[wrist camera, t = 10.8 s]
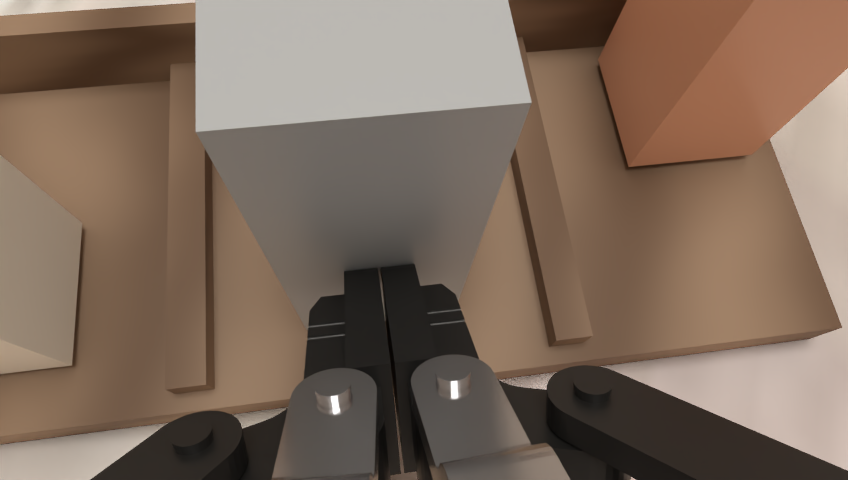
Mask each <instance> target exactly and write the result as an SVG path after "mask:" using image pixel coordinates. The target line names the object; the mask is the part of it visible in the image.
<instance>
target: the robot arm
mask: <svg viewBox="0 0 848 480" xmlns="http://www.w3.org/2000/svg"><path fill="white" fill-rule="evenodd" d="M381 277H382V288H383V298H384V309H385V318H384V310H383V303H382V295H381V287H380V280H379V272H378V268H371V269H362V270H352V271H344V294H342V295H333V296H324V297H320V299H319V300H318V301H317V302H316V303H315V305H314V306H313V307H312V308H311V310H310V312H309V323H308V326H309V328H308V335H307V339H308V340H307V347H306V358H305V370H304V380H303V381H302V382H300V383H299V384H298V385H297V386H296V387H295V389H294V390H293V392H292V394H291V397H290V402H289V406H288V409H286V410H285V411H283V412H282V413H280V414H279V415H277V416H275V417H273V418H271V419H268V420H266V421H263V422H260V423H258V424H255V425H252V426H249V427H246V428H243V429H242V427H241V424H240V422H239V420H238V419H237V418H235V417H234V416H233V415H231V414H229V413H226V412H222V411H201V412H196V413H192V414H188V415H185V416H183V417H180V418H178V419H176V420H174V421H172V422H170V423H168V424H167V425H165V426H164V427H162V428H161V429H160V430H158V431H157V432H155V433H154V434H153V435H151V436H150V437H149V438H147V439H146V440H144V441H143V442H142V443H140V444H139V445H138V446H136V447H135V448H133V449H132V450H131V451H129V452H128V453H126V454H125V455H124V456H122V457H121V458H120V459H118V460H117V461H115V462H114V463H113V464H111V465H110V466H109V467H107V468H106V469H104V470H103V471H102V472H100V473H99V474H98V475H96V476H95V477H93V478H92V479H91V480H390V475H395V474H401V471H400V460H399V449H398V438H397V427H396V417H395V406H394V397H395V404H396V412H397V419H398V427H399V435H400V442H401V450H402V457H403V465H404V473H408V472H415V471H417V477H418V480H631V477H633V478H635V479H636V480H848V471H847V470H844V469H842V468H840V467H837V466H835V465H833V464H830V463H828V462H826V461H823V460H821V459H819V458H816V457H814V456H812V455H809V454H807V453H805V452H802V451H800V450H798V449H795V448H793V447H791V446H788V445H786V444H784V443H781V442H779V441H777V440H774V439H772V438H769V437H767V436H765V435H762V434H760V433H758V432H755V431H753V430H751V429H748V428H746V427H744V426H741V425H739V424H737V423H734V422H732V421H730V420H727V419H725V418H723V417H720V416H718V415H716V414H713V413H711V412H709V411H706V410H704V409H702V408H699V407H697V406H695V405H692V404H690V403H688V402H685V401H683V400H681V399H678V398H676V397H674V396H671V395H669V394H666V393H664V392H662V391H659V390H657V389H655V388H652V387H650V386H648V385H645V384H643V383H641V382H638V381H636V380H634V379H631V378H629V377H627V376H624V375H622V374H620V373H617V372H615V371H612V370H610V369H607V368H603V367H598V366H588V365H582V366H573V367H569V368H565V369H563V370H560V371H559V372H557V373H556V374H554V375H553V376H552V377H551V378H550V380H549V382H548V385H547V390H542V389H532V388H523V387H516V386H512V385H509V384H506V383H503V382H501V381H499V380H498V379H497V377H496V375H495V374H494V372H493V370H492V369H491V367H489V366H488V365H487V364H486V363H485V362H483V361H481V360H479V357H478V354H477V352H476V349H475V346H474V343H473V341H472V338H471V335H470V332H469V330H468V327H467V324H466V322H465V319H464V316H463V313H462V311H461V308H460V305H459V302H458V299H457V297H456V294H455V293H453V292H452V291H451V290H449V289H448V288H447V287H445V286H444V285H443V284H433V285H424V286H420V283H419V279H418V275H417V271H416V267H415V264H408V265H399V266H389V267H381ZM385 320H386V325H385ZM386 330H387V333H386ZM392 381H393V384H392ZM393 389H394V395H393Z"/></svg>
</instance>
